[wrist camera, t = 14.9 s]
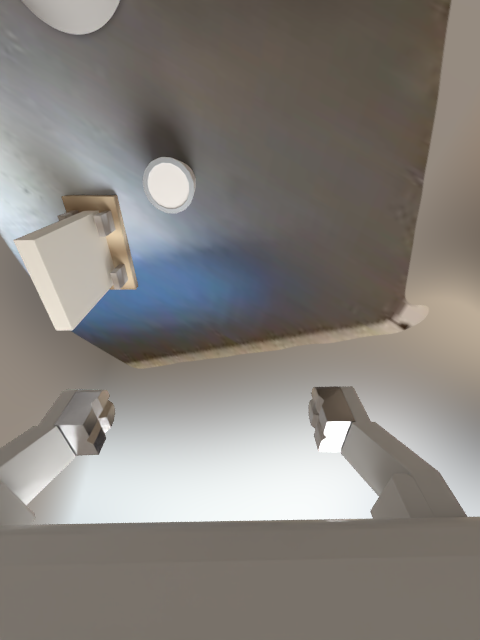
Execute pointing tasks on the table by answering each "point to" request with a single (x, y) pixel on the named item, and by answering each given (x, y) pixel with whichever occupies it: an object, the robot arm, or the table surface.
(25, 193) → the table surface
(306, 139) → the table surface
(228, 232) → the table surface
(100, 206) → the peg board base
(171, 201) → the white cup
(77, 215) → the rectangular slab
